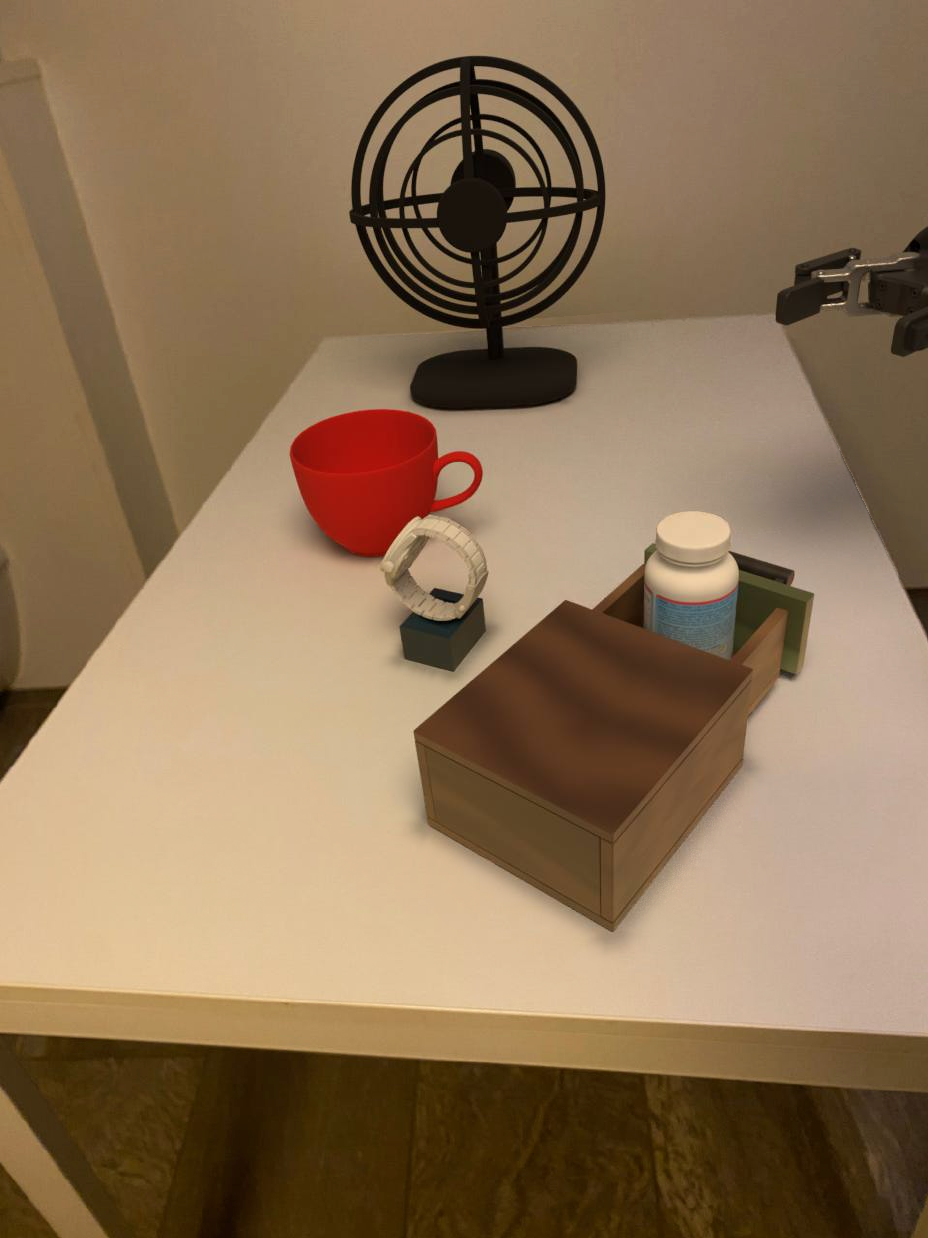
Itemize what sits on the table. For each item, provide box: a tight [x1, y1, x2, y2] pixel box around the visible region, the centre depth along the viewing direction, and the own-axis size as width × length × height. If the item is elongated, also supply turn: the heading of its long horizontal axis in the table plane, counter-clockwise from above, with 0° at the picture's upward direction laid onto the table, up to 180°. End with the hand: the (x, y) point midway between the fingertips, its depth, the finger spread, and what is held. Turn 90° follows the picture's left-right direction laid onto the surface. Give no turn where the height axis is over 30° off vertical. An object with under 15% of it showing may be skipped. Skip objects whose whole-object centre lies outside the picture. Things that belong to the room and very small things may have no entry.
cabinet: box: [412, 599, 753, 932], centre depth 59 cm, size 16×14×8 cm
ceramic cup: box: [289, 408, 484, 557], centre depth 86 cm, size 13×17×10 cm
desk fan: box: [348, 55, 607, 409], centre depth 105 cm, size 27×18×35 cm, turn 84°
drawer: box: [591, 542, 815, 716], centre depth 67 cm, size 19×12×6 cm, turn 141°
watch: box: [379, 514, 489, 672], centre depth 72 cm, size 6×8×11 cm
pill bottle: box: [643, 510, 739, 660], centre depth 64 cm, size 6×6×11 cm
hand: (836, 323), depth 60 cm, fingers open, 8 cm apart
